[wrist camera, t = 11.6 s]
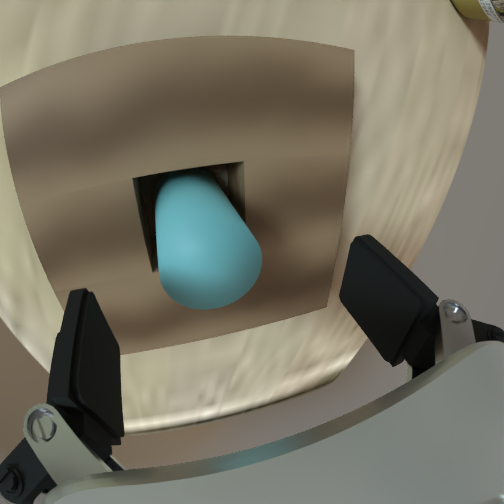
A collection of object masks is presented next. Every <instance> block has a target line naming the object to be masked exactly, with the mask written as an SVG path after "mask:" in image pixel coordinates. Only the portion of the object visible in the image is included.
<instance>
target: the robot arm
mask: <svg viewBox="0 0 504 504" xmlns="http://www.w3.org/2000/svg"><path fill="white" fill-rule="evenodd" d="M339 297H340V301H341V302H342V304H343V305H344V306H345V308H346V309H347V310H348V312H349V313H350V314H351V316H352V317H353V318H354V319H355V321H356V322H357V323H358V325H359V326H360V327H361V329H362V330H363V331H364V333H365V334H366V335H367V337H368V338H369V339H370V341H371V342H372V343H373V345H374V346H375V347H376V349H377V350H378V351H379V353H380V354H381V356H382V357H383V358H384V360H385V361H387V362H389V363H390V364H391V365H392V367H394V366H396V365H398V364H400V363H402V362H403V361H404V359H405V360H406V361H407V377H406V383H405V384H404V385H402V386H400V387H398V388H397V389H395V390H393V391H391V392H390V393H388V394H386V395H384V396H382V397H380V398H378V399H376V400H374V401H372V402H370V403H368V404H367V405H364V406H362V407H360V408H358V409H356V410H354V411H352V412H350V413H347V414H345V415H343V416H341V417H339V418H336V419H334V420H331V421H329V422H327V423H324V424H322V425H319V426H317V427H314V428H312V429H309V430H306V431H304V432H301V433H298V434H295V435H293V436H290V437H287V438H284V439H281V440H278V441H275V442H271V443H268V444H265V445H262V446H258V447H255V448H251V449H248V450H243V451H239V452H235V453H231V454H227V455H223V456H218V457H214V458H209V459H203V460H199V461H192V462H186V463H181V464H174V465H168V466H160V467H151V468H142V469H131V470H126V469H125V468H124V467H123V466H122V465H121V464H120V463H119V462H118V461H117V460H116V459H115V458H114V457H113V456H112V455H111V454H112V447H111V445H121V439H120V437H124V423H123V412H122V397H121V373H120V348H119V344H118V342H117V340H116V338H115V336H114V334H113V332H112V330H111V329H110V327H109V325H108V323H107V320H106V318H105V316H104V314H103V312H102V310H101V308H100V306H99V304H98V301H97V299H96V297H95V295H94V293H93V292H92V291H90V292H89V291H88V289H87V288H82V289H76V290H71V291H70V293H69V296H68V300H67V304H66V308H65V312H64V316H63V321H62V325H61V330H60V332H59V333H58V334H57V337H56V341H55V346H54V351H53V357H52V363H51V370H50V377H49V385H48V393H47V403H46V404H43V403H41V404H37V405H35V406H33V407H32V408H31V409H30V410H29V411H28V412H27V413H26V415H25V418H24V422H23V431H24V435H25V438H24V439H23V440H22V441H21V442H20V443H19V444H18V446H17V447H16V448H15V449H14V450H13V451H12V452H11V453H10V454H9V455H8V456H7V458H6V459H5V460H4V461H3V462H2V463H1V464H0V504H504V331H503V330H502V329H500V328H498V327H496V326H493V325H490V324H486V323H482V322H479V321H476V320H472V319H471V317H470V314H469V312H468V310H467V309H466V307H464V306H463V305H462V304H461V303H459V302H458V301H455V300H450V299H447V300H443V301H442V302H441V303H440V305H439V307H438V306H437V305H436V303H437V301H438V299H439V298H438V297H437V296H436V295H435V294H434V293H433V292H432V291H431V290H430V289H429V288H428V287H427V286H426V285H425V284H424V283H423V282H422V281H421V280H420V279H419V278H418V277H417V276H416V275H415V274H414V273H413V272H412V271H410V270H409V269H408V268H407V267H406V266H405V265H404V264H403V263H402V262H401V261H400V260H398V259H397V258H396V257H395V256H394V255H393V254H392V253H391V252H390V251H388V250H387V249H386V248H385V247H384V246H383V245H382V244H380V243H379V242H378V241H377V240H376V239H375V238H374V237H372V236H371V235H368V234H367V235H362V236H357V237H355V238H354V240H353V241H352V243H351V245H350V250H349V254H348V259H347V263H346V268H345V272H344V277H343V281H342V285H341V289H340V293H339Z"/></svg>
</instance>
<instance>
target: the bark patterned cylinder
mask: <svg viewBox="0 0 504 504" xmlns="http://www.w3.org/2000/svg"><path fill="white" fill-rule="evenodd" d="M451 1H452V2H453V4H454V6H455V7H456V8H457V10H458V11H459V12H460V13H461V14H462V15H464V16H465V17H467V18H469V19H478V20H488V21H494V22H501V23H504V0H451Z"/></svg>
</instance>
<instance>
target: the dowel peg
mask: <svg viewBox="0 0 504 504" xmlns="http://www.w3.org/2000/svg"><path fill="white" fill-rule="evenodd" d="M155 221H156V240H157V255H158V267H159V277H160V281H161V284H162V287H163V288H164V290H165V292H166V293H167V294H168V295H169V296H170V297H171V298H172V299H173V300H174V301H176V302H177V303H179V304H181V305H183V306H185V307H188V308H192V309H199V310H208V309H216V308H220V307H223V306H226V305H229V304H231V303H233V302H235V301H236V300H238V299H239V298H241V297H242V296H243V295H245V294H246V293H247V292H248V291H249V290H250V289H251V287H252V286H253V285H254V283H255V282H256V280H257V278H258V276H259V274H260V271H261V267H262V253H261V249H260V246H259V244H258V242H257V241H256V239H255V237H254V236H253V235H252V233H251V232H250V230H249V229H248V227H247V226H246V224H245V223H244V221H243V220H242V219H241V217H240V216H239V214H238V213H237V211H236V210H235V208H234V207H233V205H232V204H231V203H230V201H229V200H228V198H227V197H226V195H225V194H224V192H223V191H222V190H221V188H220V187H219V185H218V184H217V182H216V181H215V179H214V178H213V177H212V175H211V174H210V173H209V172H208V171H207V170H205V169H204V168H201V167H194V168H187V169H181V170H174V171H168V172H166V173H165V174H164V175H163V176H162V177H161V179H160V180H159V182H158V184H157V186H156V190H155Z"/></svg>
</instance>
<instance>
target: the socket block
mask: <svg viewBox="0 0 504 504" xmlns="http://www.w3.org/2000/svg"><path fill="white" fill-rule="evenodd" d="M353 98H354V50H351V49H346V48H342V47H337V46H332V45H326V44H320V43H314V42H307V41H300V40H292V39H282V38H271V37H255V36H201V37H185V38H174V39H165V40H156V41H149V42H143V43H137V44H131V45H125V46H120V47H116V48H111V49H107V50H102V51H98V52H94V53H90V54H87V55H83V56H80V57H76V58H73V59H70V60H66V61H63V62H60V63H57V64H55V65H52V66H49V67H46V68H44V69H41V70H38V71H36V72H33V73H31V74H28V75H26V76H24V77H21V78H19V79H17V80H15V81H12V82H10V83H8V84H6V85H4V86H2V87H0V104H1V114H2V123H3V130H4V137H5V143H6V148H7V154H8V159H9V163H10V168H11V172H12V177H13V181H14V185H15V188H16V192H17V196H18V199H19V203H20V206H21V209H22V213H23V216H24V219H25V222H26V225H27V228H28V231H29V233H30V236H31V239H32V241H33V244H34V247H35V249H36V252H37V254H38V257H39V259H40V262H41V264H42V266H43V269H44V271H45V273H46V275H47V278H48V280H49V282H50V284H51V286H52V288H53V290H54V292H55V294H56V297H57V299H58V300H59V302H60V304H61V306H62V308H63V310H64V312H65V308H66V304H67V300H68V296H69V293H70V291H71V290H76V289H82V288H87V289H88V291H89V292H90V291H92V292H93V293H94V295H95V297H96V299H97V301H98V304H99V306H100V308H101V310H102V312H103V314H104V316H105V318H106V320H107V323H108V325H109V327H110V329H111V330H112V332H113V334H114V336H115V338H116V340H117V342H118V344H119V348H120V355H123V354H130V353H136V352H142V351H148V350H153V349H159V348H164V347H169V346H174V345H180V344H184V343H189V342H194V341H199V340H203V339H208V338H212V337H217V336H221V335H226V334H230V333H234V332H238V331H242V330H246V329H250V328H254V327H258V326H262V325H266V324H270V323H273V322H277V321H281V320H284V319H288V318H291V317H295V316H298V315H302V314H305V313H309V312H312V311H315V310H319V309H322V308H325V307H327V302H328V298H329V293H330V288H331V283H332V277H333V272H334V266H335V261H336V255H337V249H338V243H339V237H340V230H341V224H342V217H343V209H344V202H345V194H346V186H347V177H348V167H349V157H350V146H351V133H352V118H353ZM224 163H227V168H228V188H229V201H230V203H231V204H232V205H233V207H234V208H235V210H236V211H237V213H238V214H239V216H240V217H241V219H242V220H243V221H244V223H245V224H246V226H247V227H248V229H249V230H250V232H251V233H252V235H253V236H254V237H255V239H256V241H257V242H258V244H259V246H260V249H261V253H262V267H261V271H260V274H259V276H258V278H257V280H256V282H255V283H254V285H253V286H252V287H251V289H250V290H249V291H248V292H247V293H246V294H245V295H243V296H242V297H241V298H239V299H238V300H236V301H235V302H233V303H231V304H229V305H226V306H223V307H220V308H216V309H208V310H199V309H192V308H188V307H185V306H183V305H181V304H179V303H177V302H176V301H174V300H173V299H172V298H171V297H170V296H169V295H168V294H167V293H166V292H165V290H164V288H163V287H162V284H161V281H160V277H159V267H158V255H157V240H154V241H151V238H150V233H149V228H148V224H147V219H146V213H145V208H144V203H143V197H142V192H141V186H140V180H139V177H140V176H146V175H151V174H157V173H162V172H168V171H174V170H181V169H187V168H194V167H201V166H208V165H216V164H224Z"/></svg>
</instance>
